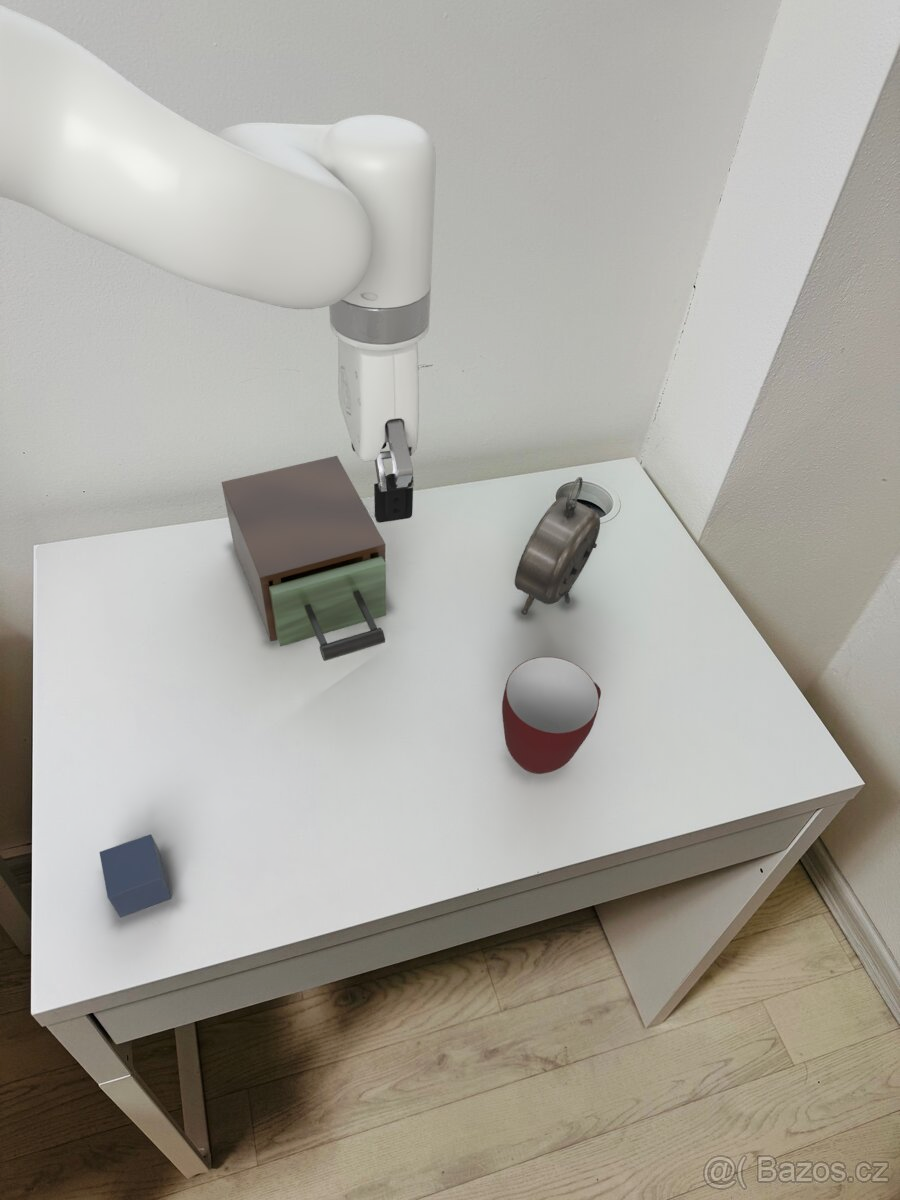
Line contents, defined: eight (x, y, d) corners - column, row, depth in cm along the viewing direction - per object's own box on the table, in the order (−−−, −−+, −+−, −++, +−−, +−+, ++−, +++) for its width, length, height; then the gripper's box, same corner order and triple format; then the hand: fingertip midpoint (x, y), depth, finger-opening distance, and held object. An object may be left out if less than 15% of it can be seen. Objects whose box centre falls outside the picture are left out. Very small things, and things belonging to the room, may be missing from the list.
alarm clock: (553, 555, 96) (577, 441, 84) (595, 575, 94) (626, 462, 82) (505, 613, 90) (524, 500, 78) (549, 636, 88) (575, 524, 76)
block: (120, 917, 66) (107, 898, 63) (111, 872, 69) (99, 851, 66) (171, 898, 68) (161, 878, 65) (161, 855, 70) (151, 833, 67)
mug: (549, 690, 83) (565, 626, 76) (613, 742, 80) (636, 680, 72) (475, 753, 78) (485, 691, 71) (540, 811, 75) (557, 752, 67)
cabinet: (385, 608, 89) (385, 544, 82) (270, 641, 85) (259, 577, 78) (340, 520, 98) (337, 455, 91) (234, 547, 94) (221, 481, 87)
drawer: (410, 663, 84) (412, 612, 78) (300, 698, 80) (293, 648, 74) (343, 531, 95) (340, 478, 90) (244, 556, 92) (235, 503, 86)
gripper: (309, 255, 67) (322, 429, 80) (353, 377, 56) (359, 555, 69) (401, 248, 69) (398, 419, 81) (460, 365, 58) (447, 541, 71)
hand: (380, 482), depth 75 cm, fingers open, 9 cm apart
